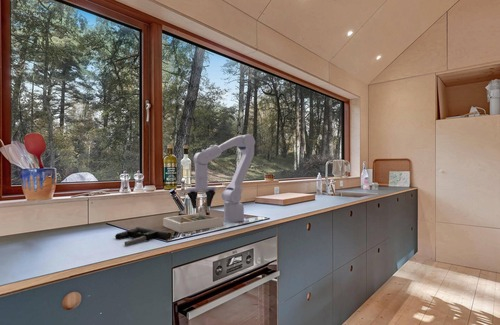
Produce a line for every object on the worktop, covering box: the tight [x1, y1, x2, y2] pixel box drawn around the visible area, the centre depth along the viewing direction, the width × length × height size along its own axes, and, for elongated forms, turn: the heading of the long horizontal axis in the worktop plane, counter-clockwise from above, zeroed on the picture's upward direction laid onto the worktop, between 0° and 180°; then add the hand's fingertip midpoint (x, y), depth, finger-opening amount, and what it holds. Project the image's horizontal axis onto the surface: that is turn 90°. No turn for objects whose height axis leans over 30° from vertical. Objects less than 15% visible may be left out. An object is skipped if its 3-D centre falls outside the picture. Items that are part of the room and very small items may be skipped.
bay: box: [162, 211, 225, 234], centre depth 131 cm, size 22×17×4 cm
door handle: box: [114, 226, 172, 247], centre depth 110 cm, size 3×20×16 cm
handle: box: [198, 205, 206, 220], centre depth 134 cm, size 3×3×7 cm
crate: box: [182, 214, 216, 223], centre depth 134 cm, size 12×14×3 cm
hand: (201, 207), depth 134 cm, fingers open, 7 cm apart
